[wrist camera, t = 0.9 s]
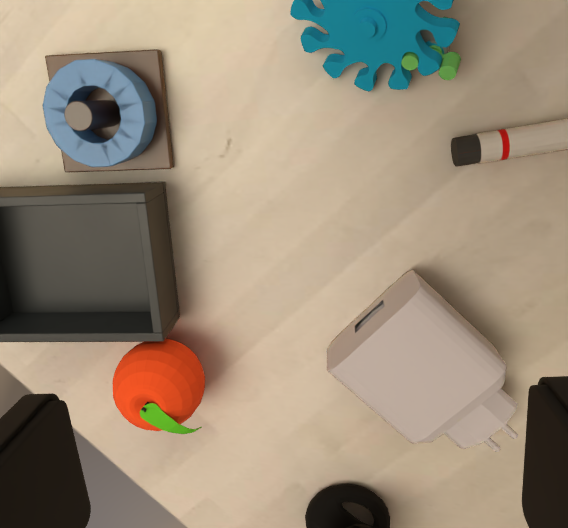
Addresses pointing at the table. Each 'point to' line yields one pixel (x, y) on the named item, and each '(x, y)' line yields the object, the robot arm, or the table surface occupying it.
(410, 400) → the charger
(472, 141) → the marker
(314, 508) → the webcam
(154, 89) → the peg stand
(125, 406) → the clementine
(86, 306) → the bin
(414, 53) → the teal lobed piece
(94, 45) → the table surface
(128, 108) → the tape roll
